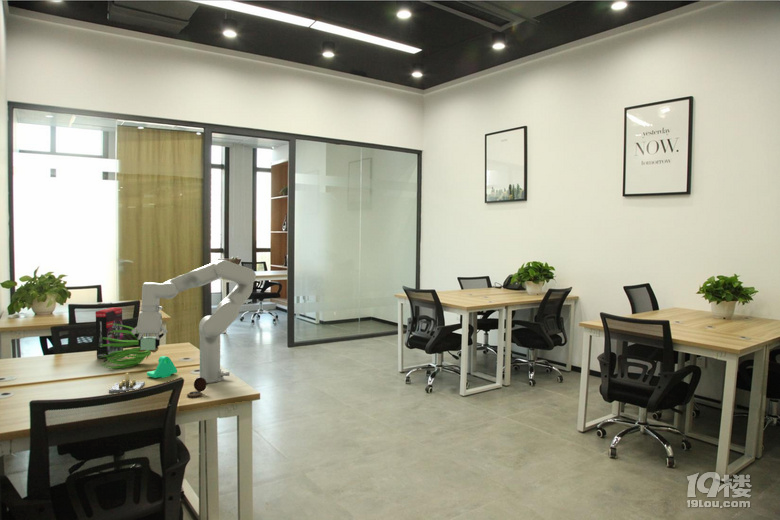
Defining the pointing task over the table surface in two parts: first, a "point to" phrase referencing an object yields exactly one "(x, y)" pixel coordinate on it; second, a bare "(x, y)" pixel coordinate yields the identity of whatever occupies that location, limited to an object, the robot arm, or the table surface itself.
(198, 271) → the robot arm
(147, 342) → the pale green block
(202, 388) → the compass
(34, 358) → the table surface
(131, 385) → the chassis
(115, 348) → the graphics card box
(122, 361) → the decorative plant
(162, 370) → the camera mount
